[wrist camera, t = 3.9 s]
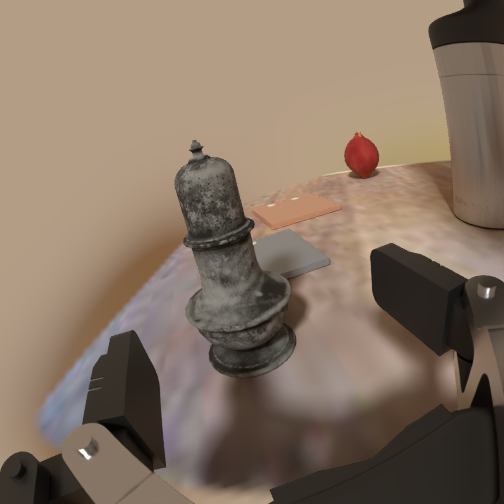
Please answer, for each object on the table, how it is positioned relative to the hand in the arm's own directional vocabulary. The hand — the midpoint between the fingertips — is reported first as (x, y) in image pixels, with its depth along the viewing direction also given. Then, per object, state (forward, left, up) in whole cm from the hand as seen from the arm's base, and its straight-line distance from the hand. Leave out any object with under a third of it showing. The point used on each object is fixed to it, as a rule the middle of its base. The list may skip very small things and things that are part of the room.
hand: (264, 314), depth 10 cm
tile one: (-4, -18, -7) cm, 19 cm away
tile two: (-12, -30, -7) cm, 33 cm away
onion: (-28, -37, -7) cm, 47 cm away
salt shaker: (0, -7, -7) cm, 10 cm away
